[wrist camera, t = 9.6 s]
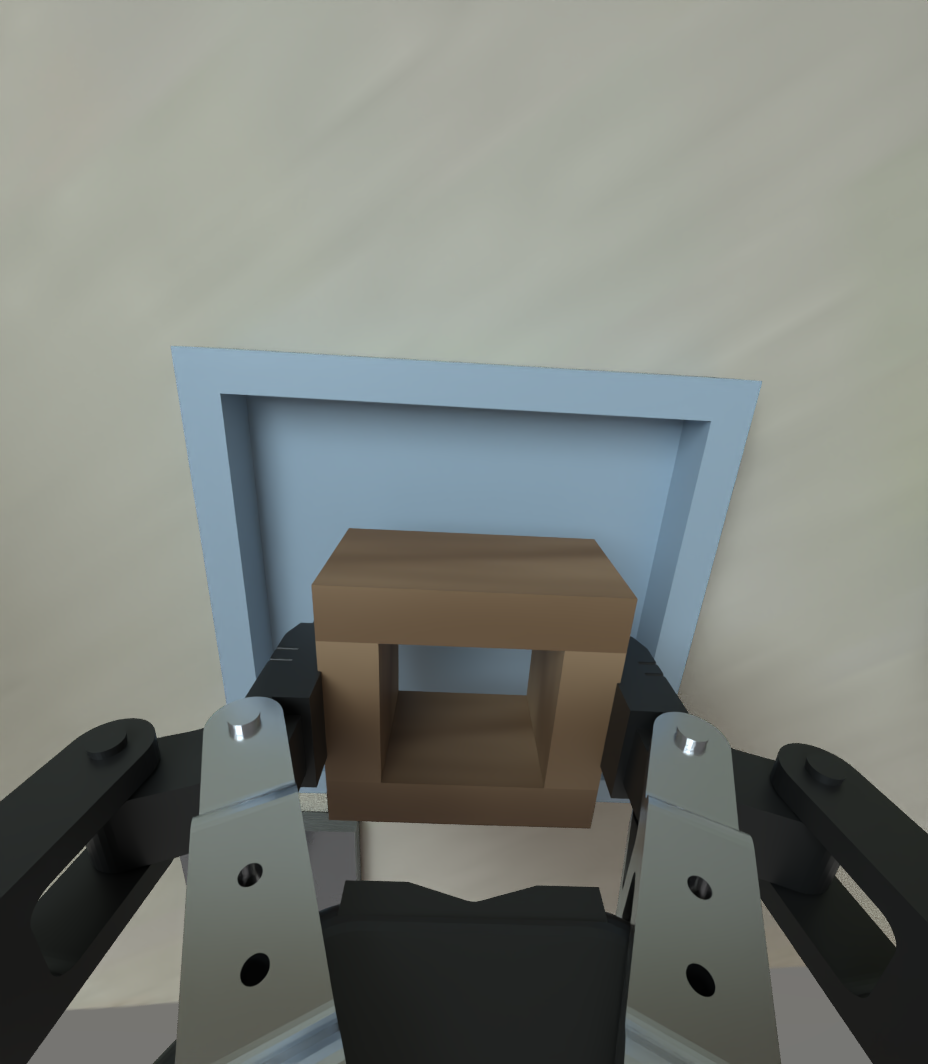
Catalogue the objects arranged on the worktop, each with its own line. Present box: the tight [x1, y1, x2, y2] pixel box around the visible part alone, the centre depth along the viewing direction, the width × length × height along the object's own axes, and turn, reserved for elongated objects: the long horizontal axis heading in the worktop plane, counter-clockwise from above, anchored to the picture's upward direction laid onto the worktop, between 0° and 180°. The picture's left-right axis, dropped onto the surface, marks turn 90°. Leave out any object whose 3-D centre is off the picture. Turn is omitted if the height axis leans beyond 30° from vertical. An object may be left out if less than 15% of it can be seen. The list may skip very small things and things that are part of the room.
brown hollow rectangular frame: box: [311, 528, 638, 828], centre depth 11 cm, size 8×6×3 cm
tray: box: [171, 346, 762, 803], centre depth 14 cm, size 14×14×2 cm
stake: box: [180, 812, 361, 911], centre depth 17 cm, size 7×7×6 cm
